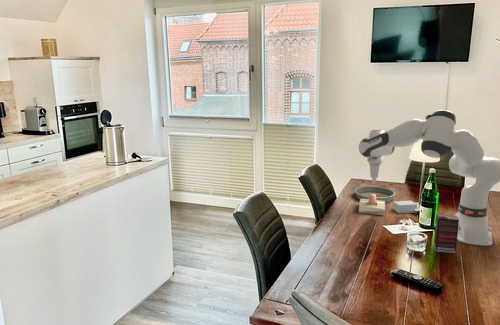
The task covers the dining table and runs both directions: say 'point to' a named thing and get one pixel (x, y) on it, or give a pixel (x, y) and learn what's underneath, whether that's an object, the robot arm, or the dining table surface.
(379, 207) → the socket board
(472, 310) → the dining table surface
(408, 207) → the grey rectangular block
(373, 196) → the peg
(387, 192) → the cake pan
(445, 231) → the supplement box
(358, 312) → the dining table surface
